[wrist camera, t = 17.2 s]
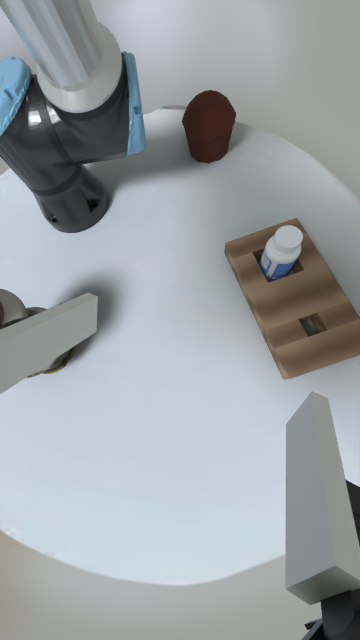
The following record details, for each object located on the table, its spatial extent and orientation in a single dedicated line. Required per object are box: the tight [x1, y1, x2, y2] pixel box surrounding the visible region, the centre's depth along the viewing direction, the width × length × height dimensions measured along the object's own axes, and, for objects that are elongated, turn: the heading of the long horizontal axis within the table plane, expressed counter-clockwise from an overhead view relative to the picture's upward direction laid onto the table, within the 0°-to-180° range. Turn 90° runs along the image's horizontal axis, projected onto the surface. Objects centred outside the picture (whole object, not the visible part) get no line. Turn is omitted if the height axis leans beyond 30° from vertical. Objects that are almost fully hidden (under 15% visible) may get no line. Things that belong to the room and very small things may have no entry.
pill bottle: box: [259, 225, 303, 281], centre depth 38 cm, size 6×5×10 cm
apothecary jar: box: [0, 289, 76, 378], centre depth 35 cm, size 12×12×18 cm
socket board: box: [225, 218, 360, 380], centre depth 40 cm, size 26×14×3 cm, turn 18°
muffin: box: [182, 90, 236, 163], centre depth 50 cm, size 12×11×10 cm
